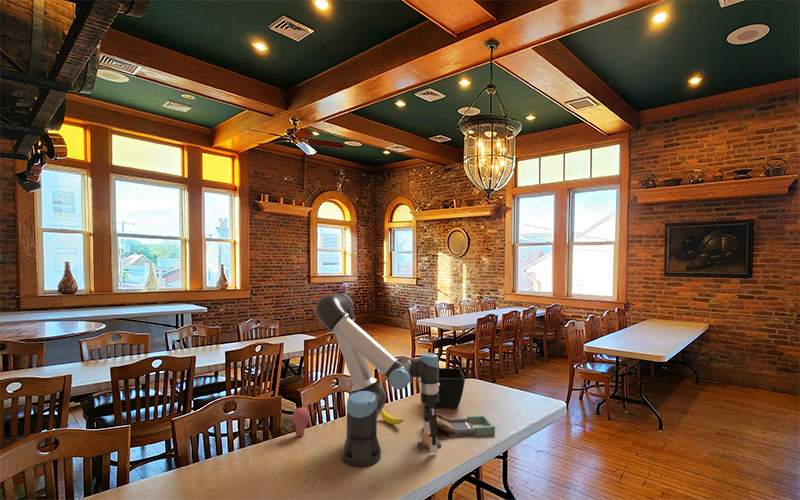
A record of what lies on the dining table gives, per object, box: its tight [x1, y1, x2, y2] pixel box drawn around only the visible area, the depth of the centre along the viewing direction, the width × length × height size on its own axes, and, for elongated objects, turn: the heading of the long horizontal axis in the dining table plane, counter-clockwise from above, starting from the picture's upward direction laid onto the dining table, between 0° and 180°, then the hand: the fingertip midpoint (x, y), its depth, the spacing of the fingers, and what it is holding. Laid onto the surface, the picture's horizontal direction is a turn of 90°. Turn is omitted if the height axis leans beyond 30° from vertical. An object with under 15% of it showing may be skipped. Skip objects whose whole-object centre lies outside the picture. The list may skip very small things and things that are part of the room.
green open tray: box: [466, 414, 496, 437], centre depth 176 cm, size 9×13×4 cm, turn 6°
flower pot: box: [434, 367, 466, 409], centre depth 207 cm, size 19×19×17 cm
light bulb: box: [292, 407, 310, 437], centre depth 168 cm, size 7×7×12 cm
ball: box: [422, 431, 430, 448], centre depth 159 cm, size 6×6×6 cm
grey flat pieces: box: [417, 440, 442, 449], centre depth 159 cm, size 9×3×1 cm, turn 96°
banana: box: [379, 408, 405, 425], centre depth 182 cm, size 3×19×6 cm, turn 39°
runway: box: [449, 417, 476, 437], centre depth 175 cm, size 10×12×3 cm
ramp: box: [436, 412, 456, 437], centre depth 174 cm, size 12×12×8 cm
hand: (430, 444), depth 159 cm, fingers open, 13 cm apart
